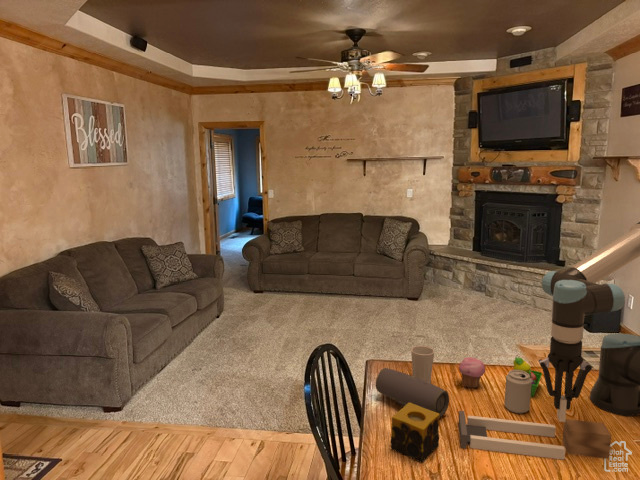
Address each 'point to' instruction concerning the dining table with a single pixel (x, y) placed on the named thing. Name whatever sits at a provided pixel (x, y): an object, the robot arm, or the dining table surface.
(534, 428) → the channel
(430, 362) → the cup
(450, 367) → the dining table surface
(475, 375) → the cupcake
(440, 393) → the bluetooth speaker
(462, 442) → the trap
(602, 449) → the block
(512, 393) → the can
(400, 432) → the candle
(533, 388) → the fruit basket
